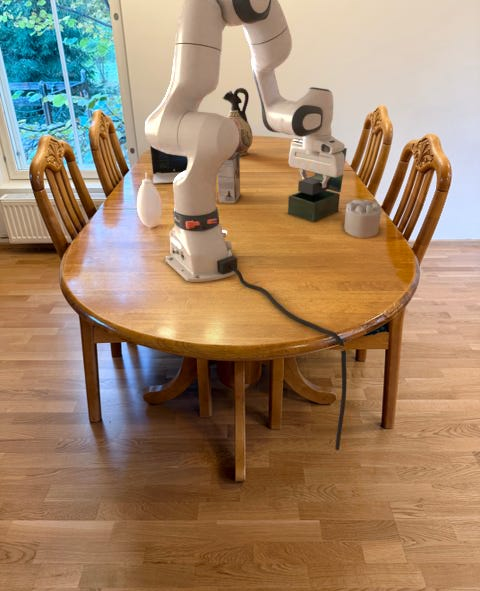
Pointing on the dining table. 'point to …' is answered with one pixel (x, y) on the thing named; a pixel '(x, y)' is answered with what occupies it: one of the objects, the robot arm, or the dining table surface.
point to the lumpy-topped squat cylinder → (362, 218)
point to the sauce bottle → (149, 204)
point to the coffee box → (229, 180)
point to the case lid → (335, 179)
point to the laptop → (166, 166)
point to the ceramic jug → (240, 119)
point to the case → (313, 205)
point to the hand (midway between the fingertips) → (314, 185)
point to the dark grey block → (312, 185)
